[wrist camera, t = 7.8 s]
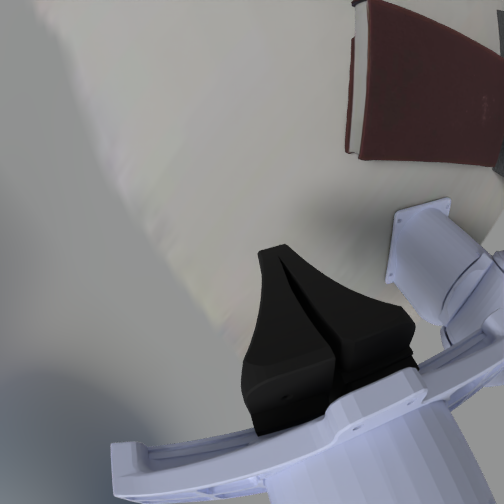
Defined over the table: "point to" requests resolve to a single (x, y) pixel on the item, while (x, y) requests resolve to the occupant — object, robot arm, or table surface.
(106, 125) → the table surface
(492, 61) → the book
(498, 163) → the bookend
